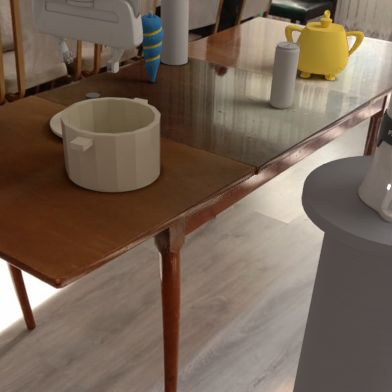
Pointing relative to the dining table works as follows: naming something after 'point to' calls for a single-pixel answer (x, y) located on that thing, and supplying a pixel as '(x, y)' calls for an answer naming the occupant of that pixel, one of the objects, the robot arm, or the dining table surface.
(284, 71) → the beverage can
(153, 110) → the pot
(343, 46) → the yellow sugar bowl
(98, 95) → the lid
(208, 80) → the dining table surface
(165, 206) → the dining table surface
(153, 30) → the ornament
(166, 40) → the bottle
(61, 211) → the dining table surface
